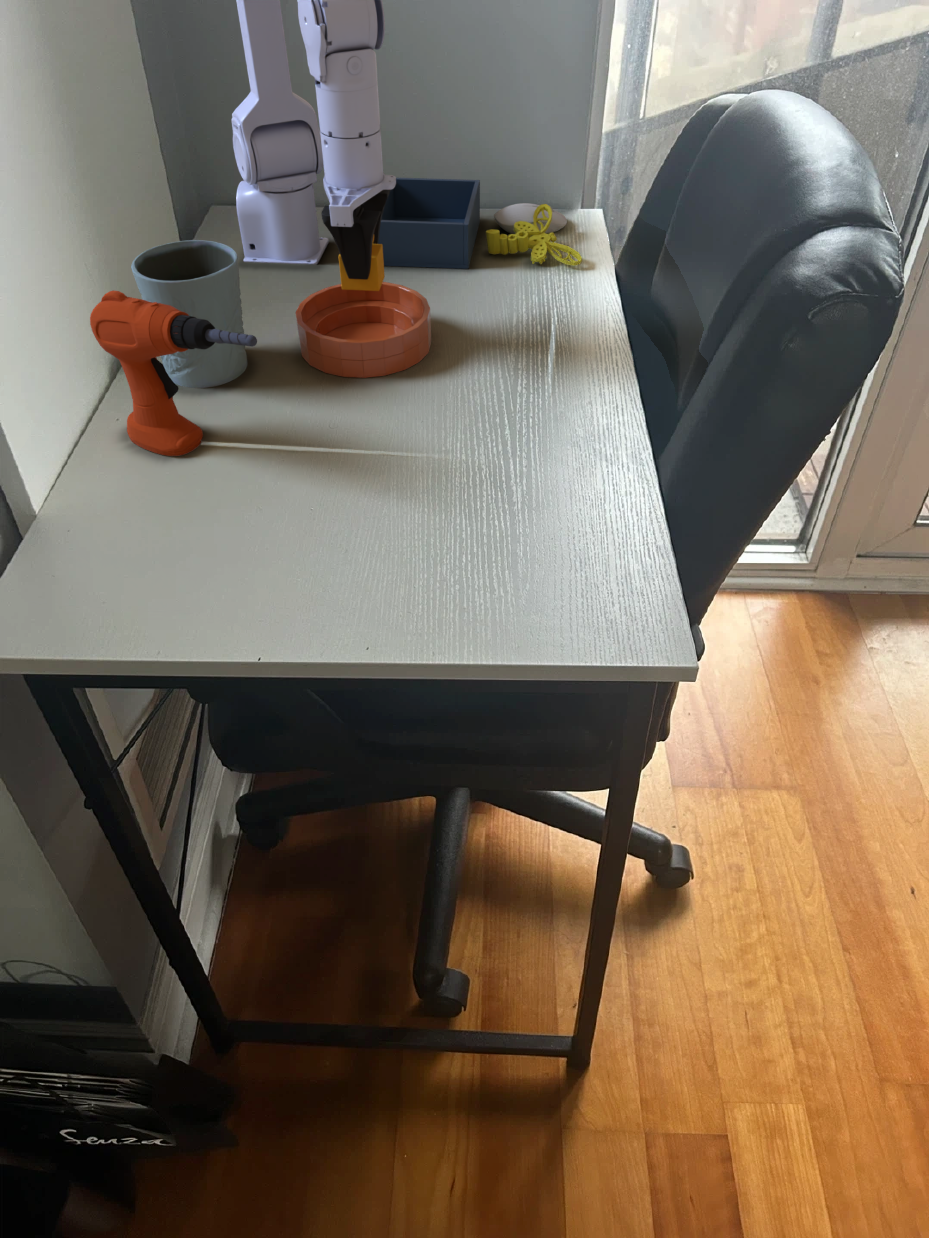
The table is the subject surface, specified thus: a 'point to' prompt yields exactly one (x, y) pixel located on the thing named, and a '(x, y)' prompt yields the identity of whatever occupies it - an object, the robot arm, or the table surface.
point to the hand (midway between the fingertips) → (362, 269)
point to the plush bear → (374, 277)
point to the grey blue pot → (197, 304)
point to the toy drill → (155, 364)
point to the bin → (430, 223)
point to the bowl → (364, 330)
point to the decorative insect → (531, 240)
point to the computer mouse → (527, 217)
